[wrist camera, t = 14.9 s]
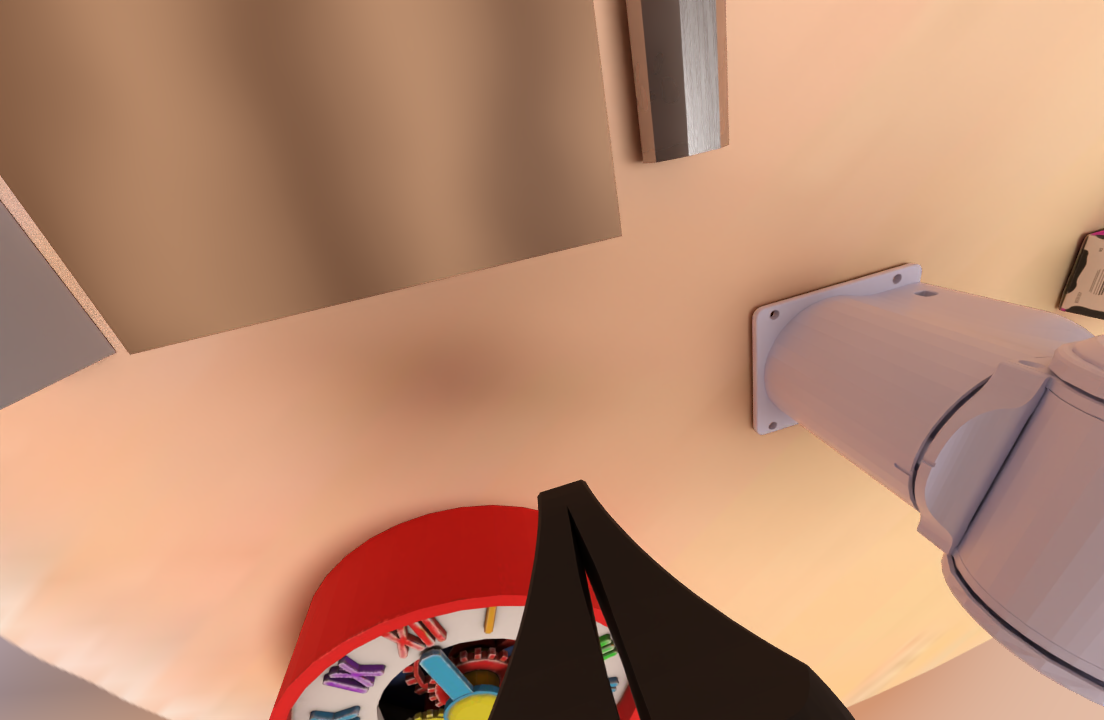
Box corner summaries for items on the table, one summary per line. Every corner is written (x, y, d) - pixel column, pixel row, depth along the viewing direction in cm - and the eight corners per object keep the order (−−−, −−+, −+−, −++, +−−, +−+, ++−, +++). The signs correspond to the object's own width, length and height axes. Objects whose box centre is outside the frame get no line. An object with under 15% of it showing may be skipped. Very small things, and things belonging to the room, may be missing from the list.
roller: (740, -76, 12) (647, -58, 12) (742, 142, 15) (666, 161, 15) (691, -31, 15) (614, -15, 15) (700, 147, 18) (635, 164, 18)
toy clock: (396, 861, 26) (156, 719, 17) (407, 746, 31) (228, 593, 23) (685, 732, 27) (594, 530, 18) (648, 640, 32) (565, 450, 23)
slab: (563, -102, 11) (575, -140, 10) (609, 230, 15) (622, 235, 14) (-57, 10, 10) (-137, -15, 9) (163, 337, 14) (130, 354, 13)
